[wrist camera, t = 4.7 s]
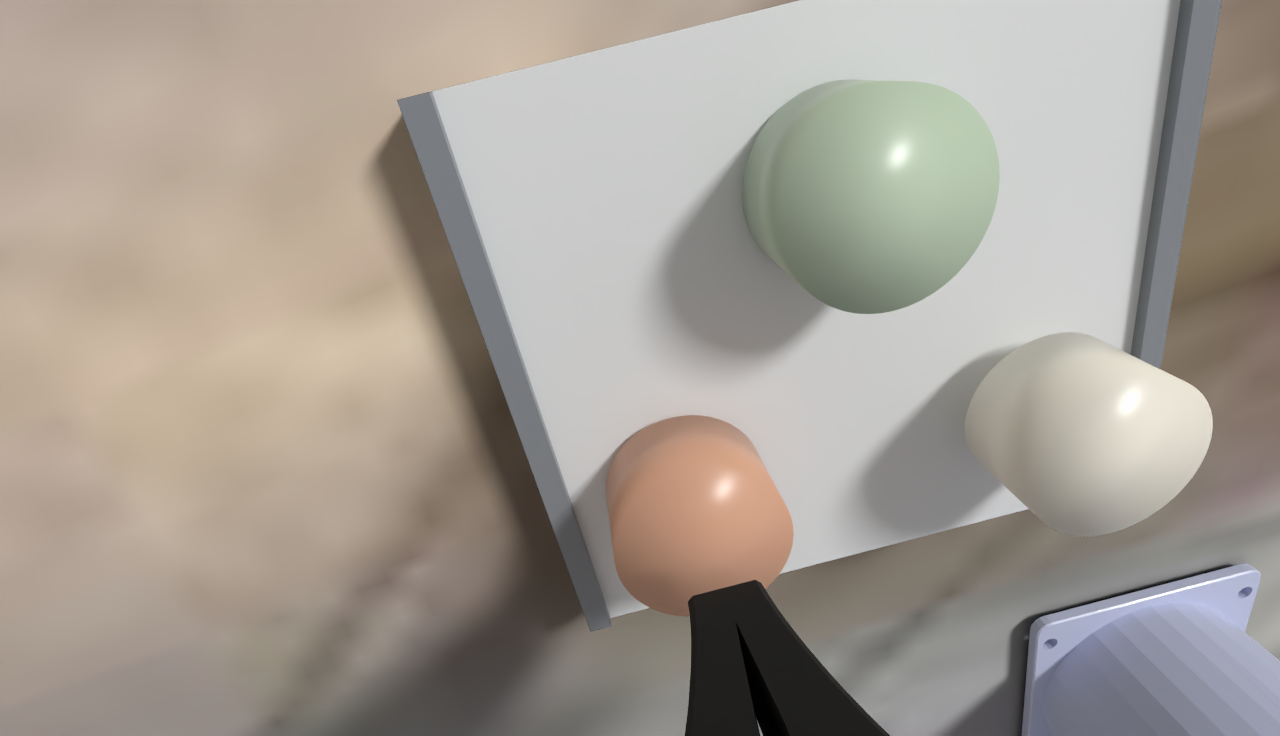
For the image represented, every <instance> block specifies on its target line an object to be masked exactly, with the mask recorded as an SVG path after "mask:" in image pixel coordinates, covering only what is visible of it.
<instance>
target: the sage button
mask: <svg viewBox="0 0 1280 736" xmlns="http://www.w3.org/2000/svg"><path fill="white" fill-rule="evenodd" d="M999 180H1000V174H999V160H998V154H997V149H996V145H995V142H994V139H993V136H992V134H991V132H990V130H989V128H988V126H987V124H986V122H985V121H984V119H983V118H982V116H981V115H980V113H979V112H978V111H977V110H976V109H975V108H974V107H973V106H972V105H971V104H970V103H969V102H968V101H967V100H965V99H964V98H962V97H961V96H960V95H958V94H957V93H955V92H953V91H951V90H949V89H947V88H944V87H941V86H938V85H934V84H931V83H924V82H916V81H886V80H855V79H851V80H836V81H830V82H826V83H823V84H820V85H817V86H814V87H812V88H810V89H808V90H805V91H803V92H801V93H800V94H798V95H797V96H795V97H794V98H792V99H791V100H789V101H788V102H787V103H786V104H785V105H783V106H782V107H781V108H780V109H779V110H778V111H777V112H776V113H775V114H774V115H773V116H772V117H771V118H770V119H769V121H768V122H767V123H766V125H765V126H764V128H763V129H762V130H761V132H760V134H759V135H758V137H757V139H756V141H755V142H754V144H753V147H752V149H751V151H750V154H749V156H748V160H747V163H746V166H745V170H744V176H743V183H742V202H743V210H744V215H745V220H746V222H747V225H748V228H749V231H750V233H751V235H752V236H753V238H754V240H755V242H756V243H757V245H758V246H759V247H760V249H761V250H762V251H763V252H764V253H765V254H766V255H767V256H768V257H769V258H770V259H771V260H772V261H773V262H774V263H776V264H777V265H778V266H779V267H780V268H781V269H782V270H784V271H785V272H786V273H787V274H788V275H789V276H790V277H792V278H793V279H794V280H795V281H796V282H797V283H798V284H800V285H801V286H802V287H803V288H804V289H805V290H806V291H807V292H809V293H810V294H811V295H813V296H814V297H815V298H817V299H818V300H819V301H821V302H823V303H825V304H827V305H828V306H830V307H833V308H836V309H839V310H841V311H845V312H850V313H856V314H879V313H885V312H891V311H895V310H898V309H902V308H905V307H908V306H910V305H912V304H915V303H917V302H919V301H921V300H923V299H925V298H926V297H928V296H930V295H931V294H933V293H935V292H936V291H937V290H939V289H940V288H941V287H943V286H944V285H945V284H946V283H948V282H949V281H950V280H951V279H952V278H953V277H954V276H955V275H956V274H957V273H958V272H959V271H960V270H961V269H962V268H963V267H964V266H965V265H966V263H967V262H968V261H969V259H970V258H971V257H972V255H973V254H974V253H975V251H976V250H977V248H978V246H979V245H980V243H981V241H982V239H983V238H984V236H985V234H986V231H987V229H988V227H989V225H990V222H991V219H992V216H993V213H994V210H995V207H996V202H997V197H998V191H999Z"/></svg>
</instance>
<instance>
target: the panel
mask: <svg viewBox="0 0 1280 736" xmlns="http://www.w3.org/2000/svg"><path fill="white" fill-rule="evenodd" d="M1221 3H1222V0H799V1H795V2H791V3H787V4H783V5H779V6H775V7H771V8H767V9H763V10H759V11H755V12H751V13H747V14H743V15H739V16H735V17H731V18H727V19H723V20H719V21H715V22H711V23H707V24H703V25H699V26H694V27H690V28H686V29H682V30H678V31H674V32H670V33H666V34H662V35H658V36H654V37H650V38H646V39H642V40H638V41H634V42H630V43H626V44H622V45H618V46H614V47H610V48H606V49H602V50H598V51H594V52H590V53H585V54H581V55H577V56H573V57H569V58H565V59H561V60H557V61H553V62H549V63H545V64H541V65H537V66H533V67H529V68H525V69H521V70H517V71H513V72H509V73H505V74H501V75H497V76H493V77H489V78H485V79H481V80H477V81H472V82H468V83H464V84H460V85H456V86H452V87H448V88H444V89H440V90H436V91H432V92H427V93H423V94H419V95H415V96H411V97H407V98H403V99H399V100H397V101H398V104H399V107H400V110H401V112H402V115H403V118H404V121H405V123H406V126H407V129H408V132H409V134H410V137H411V140H412V143H413V145H414V148H415V151H416V154H417V156H418V159H419V162H420V165H421V167H422V170H423V173H424V176H425V178H426V181H427V184H428V187H429V189H430V192H431V195H432V198H433V200H434V203H435V206H436V209H437V211H438V214H439V217H440V220H441V222H442V225H443V228H444V231H445V233H446V236H447V239H448V242H449V244H450V247H451V250H452V253H453V255H454V258H455V261H456V264H457V266H458V269H459V272H460V275H461V277H462V280H463V283H464V286H465V288H466V291H467V294H468V297H469V299H470V302H471V305H472V308H473V310H474V313H475V316H476V319H477V321H478V324H479V327H480V330H481V332H482V335H483V338H484V341H485V343H486V346H487V349H488V351H489V354H490V357H491V360H492V362H493V365H494V368H495V371H496V373H497V376H498V379H499V382H500V384H501V387H502V390H503V393H504V395H505V398H506V401H507V404H508V406H509V409H510V412H511V415H512V417H513V420H514V423H515V426H516V428H517V431H518V434H519V437H520V439H521V442H522V445H523V448H524V450H525V453H526V456H527V459H528V461H529V464H530V467H531V470H532V472H533V475H534V478H535V481H536V483H537V486H538V489H539V492H540V494H541V497H542V500H543V503H544V505H545V508H546V511H547V514H548V516H549V519H550V522H551V525H552V527H553V530H554V533H555V536H556V538H557V541H558V544H559V547H560V549H561V552H562V555H563V558H564V560H565V563H566V566H567V569H568V571H569V574H570V577H571V580H572V582H573V585H574V588H575V591H576V593H577V596H578V599H579V602H580V604H581V607H582V610H583V613H584V615H585V618H586V621H587V624H588V626H589V629H590V632H592V631H596V630H599V629H603V628H607V627H611V618H612V617H616V616H620V615H624V614H628V613H632V612H635V611H639V610H643V609H647V608H650V607H647V606H646V605H644V604H642V603H641V602H639V601H638V600H637V599H635V598H634V597H633V596H632V595H631V594H630V593H629V592H628V591H627V590H626V588H625V587H624V586H623V584H622V582H621V581H620V579H619V576H618V574H617V571H616V567H615V562H614V554H613V546H612V538H611V530H610V521H609V513H608V505H607V497H606V481H607V476H608V472H609V469H610V466H611V464H612V462H613V460H614V458H615V456H616V455H617V453H618V452H619V450H620V449H621V448H622V447H623V445H624V444H625V443H626V442H627V441H628V440H629V439H630V438H632V437H633V436H634V435H636V434H637V433H638V432H639V431H641V430H643V429H644V428H646V427H648V426H650V425H652V424H654V423H656V422H659V421H662V420H665V419H668V418H672V417H677V416H686V415H701V416H708V417H713V418H716V419H720V420H723V421H725V422H727V423H730V424H731V425H733V426H735V427H736V428H738V429H739V430H740V431H742V432H743V433H744V434H745V435H746V436H747V437H748V438H749V439H750V441H751V442H752V443H753V445H754V447H755V448H756V450H757V452H758V454H759V456H760V458H761V459H762V461H763V463H764V465H765V467H766V469H767V471H768V473H769V474H770V476H771V478H772V480H773V482H774V484H775V486H776V488H777V490H778V491H779V493H780V495H781V497H782V499H783V501H784V503H785V505H786V506H787V508H788V511H789V513H790V516H791V519H792V523H793V533H794V536H793V545H792V549H791V552H790V555H789V558H788V560H787V562H786V564H785V566H784V567H783V569H782V571H781V572H780V573H779V574H781V573H785V572H789V571H792V570H796V569H800V568H804V567H808V566H812V565H815V564H819V563H823V562H827V561H831V560H835V559H838V558H842V557H846V556H850V555H854V554H858V553H861V552H865V551H869V550H873V549H877V548H880V547H884V546H888V545H892V544H896V543H900V542H903V541H907V540H911V539H915V538H919V537H923V536H926V535H930V534H934V533H938V532H942V531H946V530H949V529H953V528H957V527H961V526H965V525H969V524H972V523H976V522H980V521H984V520H988V519H992V518H995V517H999V516H1003V515H1007V514H1011V513H1015V512H1018V511H1022V510H1026V509H1029V508H1027V507H1026V506H1025V505H1024V504H1023V503H1022V502H1021V501H1020V500H1019V499H1018V498H1017V497H1016V496H1015V495H1013V494H1012V493H1011V492H1010V491H1009V490H1008V489H1007V488H1006V487H1005V486H1004V485H1003V484H1002V483H1000V482H999V481H998V480H997V479H996V478H995V477H994V476H993V475H992V474H991V473H990V472H989V471H988V470H986V469H985V468H984V467H983V466H982V465H981V464H980V463H979V462H978V461H977V460H976V459H975V458H974V456H973V455H972V453H971V452H970V450H969V447H968V445H967V441H966V437H965V420H966V415H967V410H968V407H969V405H970V402H971V399H972V397H973V395H974V393H975V391H976V390H977V388H978V386H979V385H980V383H981V382H982V380H983V379H984V378H985V377H986V375H987V374H988V373H989V372H990V371H991V370H992V369H993V368H994V367H995V366H996V365H997V364H998V363H999V362H1000V361H1001V360H1002V359H1003V358H1005V357H1006V356H1007V355H1009V354H1010V353H1011V352H1013V351H1014V350H1016V349H1017V348H1019V347H1021V346H1023V345H1024V344H1026V343H1028V342H1031V341H1033V340H1035V339H1038V338H1041V337H1044V336H1047V335H1051V334H1056V333H1065V332H1074V333H1082V334H1087V335H1090V336H1093V337H1095V338H1098V339H1100V340H1102V341H1104V342H1106V343H1108V344H1110V345H1112V346H1114V347H1116V348H1118V349H1120V350H1122V351H1124V352H1126V353H1128V354H1130V355H1132V356H1134V357H1136V358H1138V359H1140V360H1142V361H1144V362H1146V363H1148V364H1150V365H1152V366H1154V367H1156V368H1158V369H1161V363H1162V357H1163V351H1164V345H1165V339H1166V333H1167V327H1168V321H1169V315H1170V309H1171V303H1172V297H1173V291H1174V285H1175V279H1176V273H1177V267H1178V261H1179V255H1180V249H1181V243H1182V237H1183V231H1184V225H1185V219H1186V213H1187V207H1188V201H1189V195H1190V189H1191V183H1192V177H1193V171H1194V165H1195V159H1196V153H1197V147H1198V141H1199V135H1200V129H1201V123H1202V117H1203V111H1204V105H1205V99H1206V93H1207V87H1208V81H1209V75H1210V69H1211V63H1212V57H1213V51H1214V45H1215V39H1216V33H1217V27H1218V21H1219V15H1220V9H1221ZM851 79H855V80H886V81H916V82H924V83H931V84H934V85H938V86H941V87H944V88H947V89H949V90H951V91H953V92H955V93H957V94H958V95H960V96H961V97H962V98H964V99H965V100H967V101H968V102H969V103H970V104H971V105H972V106H973V107H974V108H975V109H976V110H977V111H978V112H979V113H980V115H981V116H982V118H983V119H984V121H985V122H986V124H987V126H988V128H989V130H990V132H991V134H992V136H993V139H994V142H995V145H996V149H997V154H998V160H999V174H1000V180H999V191H998V197H997V202H996V207H995V210H994V213H993V216H992V219H991V222H990V225H989V227H988V229H987V231H986V234H985V236H984V238H983V239H982V241H981V243H980V245H979V246H978V248H977V250H976V251H975V253H974V254H973V255H972V257H971V258H970V259H969V261H968V262H967V263H966V265H965V266H964V267H963V268H962V269H961V270H960V271H959V272H958V273H957V274H956V275H955V276H954V277H953V278H952V279H951V280H950V281H949V282H948V283H946V284H945V285H944V286H943V287H941V288H940V289H939V290H937V291H936V292H935V293H933V294H931V295H930V296H928V297H926V298H925V299H923V300H921V301H919V302H917V303H915V304H912V305H910V306H908V307H905V308H902V309H898V310H895V311H891V312H885V313H879V314H856V313H850V312H845V311H841V310H839V309H836V308H833V307H830V306H828V305H827V304H825V303H823V302H821V301H819V300H818V299H817V298H815V297H814V296H813V295H811V294H810V293H809V292H807V291H806V290H805V289H804V288H803V287H802V286H801V285H800V284H798V283H797V282H796V281H795V280H794V279H793V278H792V277H790V276H789V275H788V274H787V273H786V272H785V271H784V270H782V269H781V268H780V267H779V266H778V265H777V264H776V263H774V262H773V261H772V260H771V259H770V258H769V257H768V256H767V255H766V254H765V253H764V252H763V251H762V250H761V249H760V247H759V246H758V245H757V243H756V242H755V240H754V238H753V236H752V235H751V233H750V231H749V228H748V225H747V222H746V220H745V215H744V210H743V202H742V183H743V176H744V170H745V166H746V163H747V160H748V156H749V154H750V151H751V149H752V147H753V144H754V142H755V141H756V139H757V137H758V135H759V134H760V132H761V130H762V129H763V128H764V126H765V125H766V123H767V122H768V121H769V119H770V118H771V117H772V116H773V115H774V114H775V113H776V112H777V111H778V110H779V109H780V108H781V107H782V106H783V105H785V104H786V103H787V102H788V101H789V100H791V99H792V98H794V97H795V96H797V95H798V94H800V93H801V92H803V91H805V90H808V89H810V88H812V87H814V86H817V85H820V84H823V83H826V82H830V81H836V80H851Z"/></svg>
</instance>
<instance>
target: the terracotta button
mask: <svg viewBox="0 0 1280 736" xmlns="http://www.w3.org/2000/svg"><path fill="white" fill-rule="evenodd" d="M606 497H607V505H608V513H609V521H610V530H611V538H612V546H613V554H614V562H615V567H616V571H617V574H618V576H619V579H620V581H621V582H622V584H623V586H624V587H625V588H626V590H627V591H628V592H629V593H630V594H631V595H632V596H633V597H634V598H635V599H637V600H638V601H639V602H641V603H642V604H644V605H646V606H647V607H650V608H652V609H654V610H656V611H660V612H663V613H666V614H671V615H677V616H690V612H689V607H688V601H689V600H690V598H691V597H692V596H694V595H698V594H702V593H706V592H710V591H713V590H717V589H721V588H725V587H729V586H733V585H737V584H741V583H744V582H748V581H752V580H757V581H759V582H761V583H762V585H763V586H764V588H765V589H766V588H767V587H768V586H769V585H770V584H771V583H772V582H773V581H774V580H775V579H776V577H777V576H778V575H779V573H780V572H781V571H782V569H783V567H784V566H785V564H786V562H787V560H788V558H789V555H790V552H791V549H792V545H793V536H794V533H793V523H792V519H791V516H790V513H789V511H788V508H787V506H786V505H785V503H784V501H783V499H782V497H781V495H780V493H779V491H778V490H777V488H776V486H775V484H774V482H773V480H772V478H771V476H770V474H769V473H768V471H767V469H766V467H765V465H764V463H763V461H762V459H761V458H760V456H759V454H758V452H757V450H756V448H755V447H754V445H753V443H752V442H751V441H750V439H749V438H748V437H747V436H746V435H745V434H744V433H743V432H742V431H740V430H739V429H738V428H736V427H735V426H733V425H731V424H730V423H727V422H725V421H723V420H720V419H716V418H713V417H708V416H701V415H686V416H677V417H672V418H668V419H665V420H662V421H659V422H656V423H654V424H652V425H650V426H648V427H646V428H644V429H643V430H641V431H639V432H638V433H637V434H636V435H634V436H633V437H632V438H630V439H629V440H628V441H627V442H626V443H625V444H624V445H623V447H622V448H621V449H620V450H619V452H618V453H617V455H616V456H615V458H614V460H613V462H612V464H611V466H610V469H609V472H608V476H607V481H606Z"/></svg>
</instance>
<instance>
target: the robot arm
mask: <svg viewBox="0 0 1280 736" xmlns="http://www.w3.org/2000/svg"><path fill="white" fill-rule="evenodd" d="M1260 579H1261V574H1260V572H1259V571H1258V570H1256V569H1255V568H1254V567H1252V566H1251V565H1249V564H1238V565H1235V566H1231V567H1227V568H1223V569H1220V570H1216V571H1212V572H1208V573H1204V574H1201V575H1197V576H1193V577H1189V578H1185V579H1182V580H1178V581H1174V582H1170V583H1166V584H1163V585H1159V586H1155V587H1151V588H1148V589H1144V590H1140V591H1136V592H1132V593H1129V594H1125V595H1121V596H1117V597H1113V598H1110V599H1106V600H1102V601H1098V602H1094V603H1091V604H1087V605H1083V606H1079V607H1075V608H1072V609H1068V610H1064V611H1060V612H1057V613H1053V614H1049V615H1045V616H1042V617H1040V618H1038V619H1037V620H1035V621H1034V622H1033V624H1032V625H1031V628H1030V637H1029V649H1028V662H1027V675H1026V687H1025V700H1024V712H1023V725H1022V736H1280V661H1279V660H1278V659H1277V658H1276V657H1274V656H1273V655H1272V654H1271V653H1270V652H1268V651H1267V650H1266V649H1265V648H1263V647H1262V646H1261V645H1260V644H1258V643H1257V642H1256V641H1255V640H1254V639H1252V638H1251V637H1250V636H1249V635H1247V634H1246V633H1245V630H1246V626H1247V623H1248V619H1249V616H1250V613H1251V609H1252V606H1253V603H1254V599H1255V596H1256V592H1257V589H1258V586H1259V582H1260ZM688 607H689V612H690V622H691V676H690V692H689V706H688V715H687V723H686V731H685V736H760V733H759V728H758V724H757V721H758V723H759V726H760V728H761V731H762V733H763V736H890V735H889V734H888V733H887V732H886V731H885V730H884V729H883V728H882V727H881V726H879V725H878V724H877V723H876V722H875V721H874V720H873V719H872V718H871V717H870V716H869V715H868V714H867V713H866V712H865V711H864V709H863V708H862V707H861V706H860V705H859V704H858V703H857V702H856V701H855V700H854V699H853V698H852V697H851V696H850V695H849V694H848V693H847V692H846V691H845V690H844V689H843V687H842V686H841V685H840V684H839V683H838V682H837V681H836V680H835V679H834V678H833V677H832V675H831V674H830V673H829V672H828V671H827V670H826V668H825V667H824V666H823V665H822V664H821V663H820V662H819V660H818V659H817V658H816V657H815V656H814V655H813V653H812V652H811V651H810V650H809V649H808V648H807V646H806V645H805V644H804V643H803V641H802V640H801V639H800V638H799V636H798V635H797V634H796V633H795V631H794V630H793V629H792V627H791V626H790V625H789V623H788V622H787V621H786V620H785V618H784V617H783V615H782V614H781V613H780V611H779V610H778V608H777V607H776V605H775V604H774V603H773V601H772V599H771V598H770V596H769V595H768V593H767V592H766V590H765V588H764V586H763V585H762V583H761V582H759V581H757V580H752V581H748V582H744V583H741V584H737V585H733V586H729V587H725V588H721V589H717V590H713V591H710V592H706V593H702V594H698V595H694V596H692V597H691V598H690V600H689V601H688ZM756 718H757V719H756Z"/></svg>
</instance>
